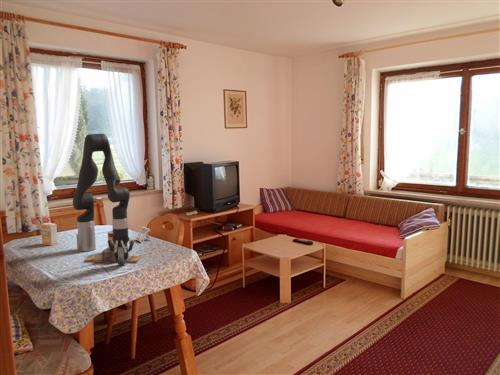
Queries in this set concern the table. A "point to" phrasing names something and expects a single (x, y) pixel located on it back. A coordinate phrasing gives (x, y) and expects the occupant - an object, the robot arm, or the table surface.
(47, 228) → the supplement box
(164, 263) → the table surface
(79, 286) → the table surface
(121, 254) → the hinge pin
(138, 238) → the portable electronic device stand
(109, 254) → the hinge
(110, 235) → the canned food
